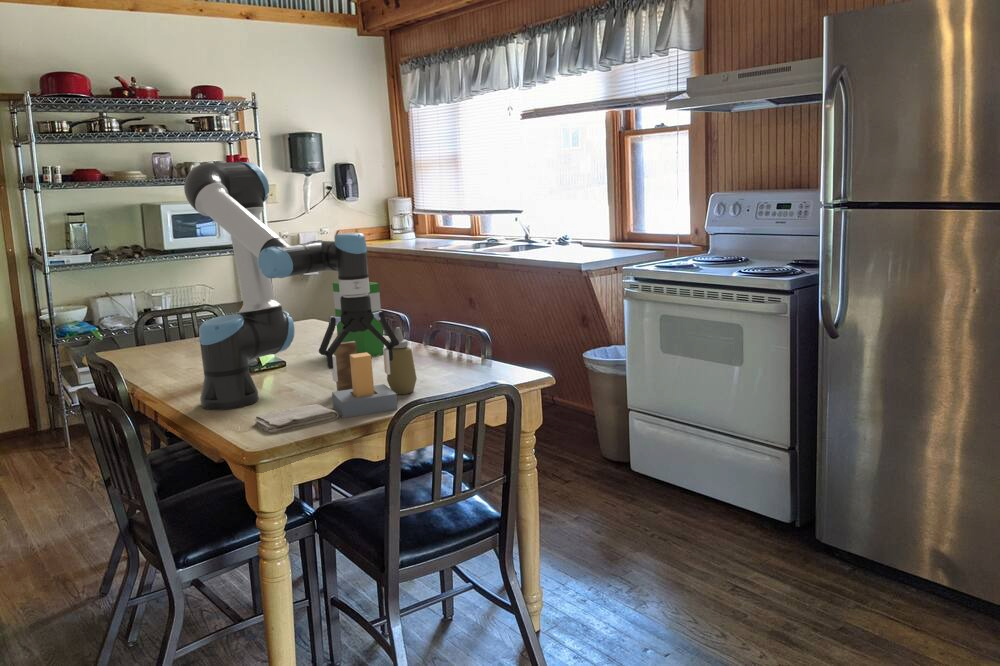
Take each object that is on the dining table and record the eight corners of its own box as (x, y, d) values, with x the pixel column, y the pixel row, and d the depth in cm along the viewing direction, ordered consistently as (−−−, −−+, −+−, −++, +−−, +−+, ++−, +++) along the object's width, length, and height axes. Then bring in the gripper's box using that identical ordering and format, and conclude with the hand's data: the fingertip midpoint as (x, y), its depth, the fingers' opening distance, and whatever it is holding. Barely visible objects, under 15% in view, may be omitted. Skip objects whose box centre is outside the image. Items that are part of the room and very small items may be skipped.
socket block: (343, 417, 208) (341, 402, 208) (333, 406, 219) (331, 391, 219) (397, 409, 214) (396, 393, 213) (385, 398, 225) (384, 384, 224)
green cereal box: (338, 351, 291) (332, 282, 287) (357, 347, 296) (351, 280, 292) (365, 357, 278) (359, 286, 274) (384, 353, 283) (378, 283, 278)
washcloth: (252, 426, 207) (250, 414, 207) (319, 411, 218) (318, 399, 217) (270, 436, 198) (269, 424, 197) (339, 420, 208) (338, 408, 208)
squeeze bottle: (396, 387, 236) (391, 324, 232) (422, 389, 233) (417, 325, 229) (382, 395, 228) (377, 330, 225) (409, 396, 225) (404, 330, 222)
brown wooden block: (338, 394, 232) (334, 344, 229) (337, 393, 234) (332, 343, 231) (360, 391, 234) (355, 342, 231) (358, 389, 236) (354, 341, 233)
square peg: (358, 411, 214) (353, 357, 211) (354, 407, 218) (349, 354, 215) (375, 408, 215) (371, 355, 213) (371, 404, 219) (366, 352, 217)
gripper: (307, 302, 203) (315, 387, 207) (407, 291, 212) (412, 373, 216) (302, 298, 210) (310, 380, 214) (398, 288, 219) (404, 367, 223)
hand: (361, 377), depth 215 cm, fingers open, 13 cm apart
